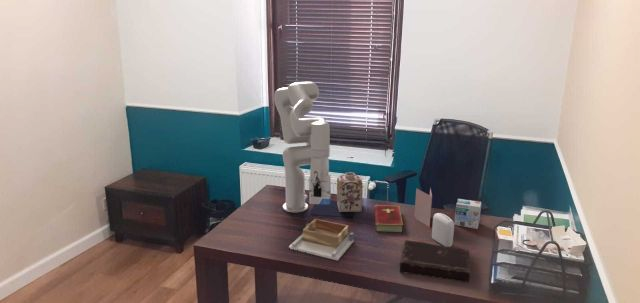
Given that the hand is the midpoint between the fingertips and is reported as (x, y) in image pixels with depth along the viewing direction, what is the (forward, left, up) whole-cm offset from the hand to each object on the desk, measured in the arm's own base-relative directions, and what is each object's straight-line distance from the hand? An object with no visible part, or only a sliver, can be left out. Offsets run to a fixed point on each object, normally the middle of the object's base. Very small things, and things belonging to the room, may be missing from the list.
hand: (320, 193), depth 187 cm
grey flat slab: (+4, +2, -22) cm, 22 cm away
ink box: (0, 0, -4) cm, 4 cm away
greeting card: (-37, +35, -22) cm, 56 cm away
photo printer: (-21, +47, -22) cm, 56 cm away
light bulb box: (-43, +54, -22) cm, 73 cm away
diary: (-1, +48, -22) cm, 53 cm away
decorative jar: (-37, -2, -22) cm, 43 cm away
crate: (-1, +2, -21) cm, 21 cm away
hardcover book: (-30, +21, -22) cm, 43 cm away
